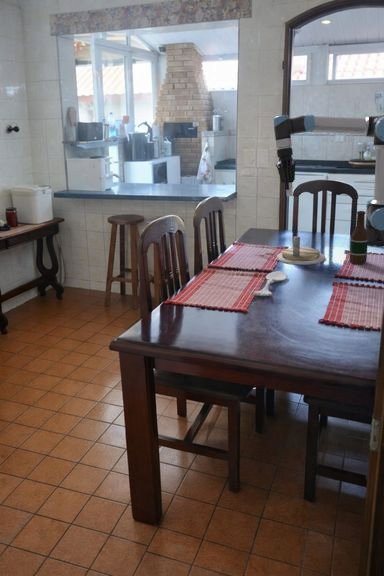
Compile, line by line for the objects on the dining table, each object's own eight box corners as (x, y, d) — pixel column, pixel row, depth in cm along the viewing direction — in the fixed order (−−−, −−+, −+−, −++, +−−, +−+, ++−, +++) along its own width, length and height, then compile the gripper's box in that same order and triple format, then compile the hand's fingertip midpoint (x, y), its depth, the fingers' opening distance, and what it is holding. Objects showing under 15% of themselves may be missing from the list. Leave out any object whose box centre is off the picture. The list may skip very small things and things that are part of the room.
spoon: (248, 299, 199) (248, 291, 198) (269, 275, 227) (269, 268, 226) (271, 302, 196) (271, 293, 195) (289, 277, 224) (289, 270, 223)
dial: (288, 249, 262) (289, 228, 259) (323, 253, 254) (324, 231, 250) (276, 258, 247) (277, 236, 244) (313, 262, 239) (314, 239, 236)
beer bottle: (364, 260, 244) (368, 209, 236) (368, 264, 236) (372, 212, 229) (347, 260, 245) (350, 210, 237) (350, 264, 237) (354, 213, 230)
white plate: (297, 249, 266) (297, 247, 266) (334, 257, 249) (334, 255, 249) (267, 258, 253) (267, 256, 252) (304, 267, 236) (304, 265, 235)
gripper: (287, 148, 260) (292, 194, 265) (269, 150, 253) (275, 198, 258) (298, 145, 255) (304, 193, 260) (281, 148, 247) (286, 197, 252)
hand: (289, 196), depth 259 cm, fingers closed
